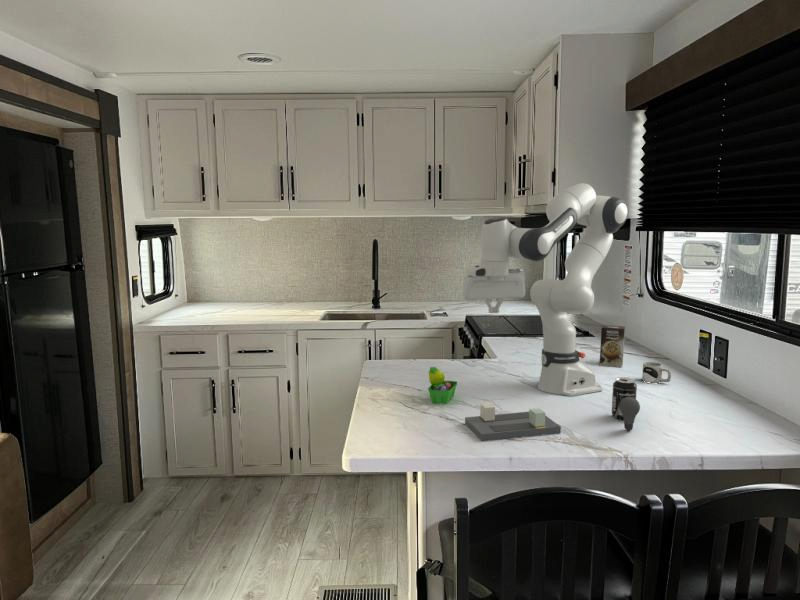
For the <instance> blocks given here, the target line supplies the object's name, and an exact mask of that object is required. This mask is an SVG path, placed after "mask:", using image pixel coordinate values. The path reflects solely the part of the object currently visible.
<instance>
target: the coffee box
mask: <svg viewBox="0 0 800 600" xmlns="http://www.w3.org/2000/svg"><path fill="white" fill-rule="evenodd" d="M625 332H626V326H622V325H610V324H602V325H601V331H600V333H601V334H600V349H599V364H598V365H599V366H601V367H602V366H603V367H610V366H612V367H614V368H621V367H622V366H623V365H624V353H625V352H624V349H625V348H624V347H625V337H626V336H625V335H626V333H625ZM612 367H611V368H612ZM622 368H623V367H622Z"/></svg>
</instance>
